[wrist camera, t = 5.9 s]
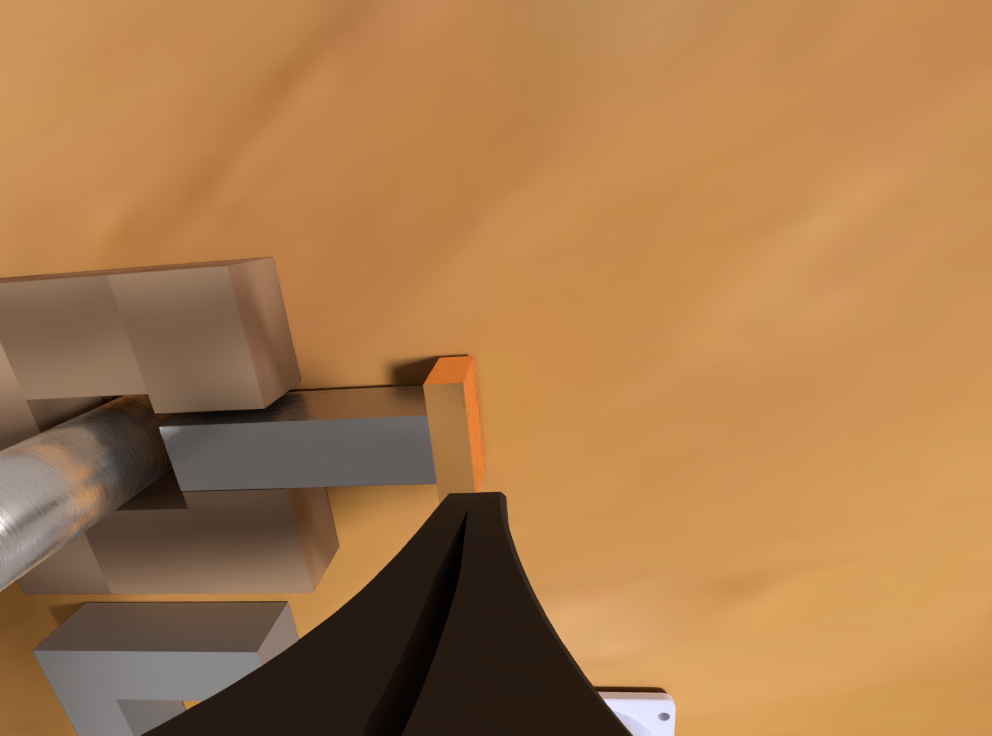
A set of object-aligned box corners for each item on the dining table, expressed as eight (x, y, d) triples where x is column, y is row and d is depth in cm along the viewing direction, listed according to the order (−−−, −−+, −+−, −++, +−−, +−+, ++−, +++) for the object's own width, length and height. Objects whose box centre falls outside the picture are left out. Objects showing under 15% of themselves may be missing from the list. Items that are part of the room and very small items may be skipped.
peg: (213, 458, 19) (-8, 627, 11) (140, 461, 19) (-122, 627, 11) (189, 383, 18) (-71, 513, 10) (113, 388, 18) (-196, 517, 10)
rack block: (331, 752, 24) (309, 811, 22) (153, 746, 25) (114, 802, 23) (287, 602, 21) (256, 652, 19) (85, 602, 22) (31, 650, 19)
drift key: (484, 467, 17) (477, 509, 15) (235, 474, 18) (189, 515, 16) (473, 355, 16) (462, 382, 14) (203, 370, 17) (148, 397, 15)
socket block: (339, 546, 20) (313, 592, 17) (81, 550, 21) (24, 594, 18) (272, 256, 16) (227, 266, 13) (-40, 281, 17) (-133, 293, 15)
